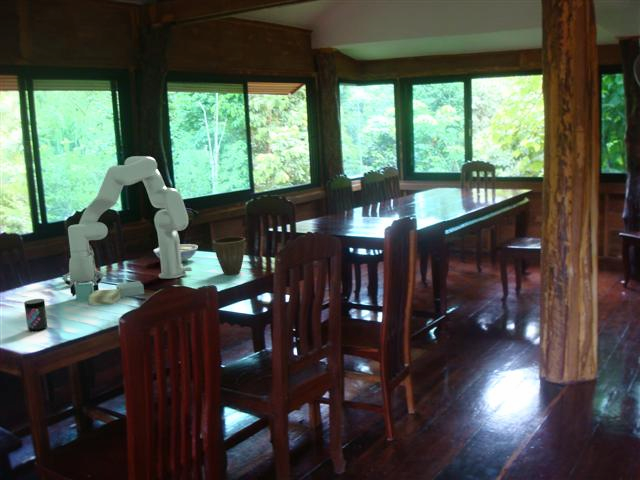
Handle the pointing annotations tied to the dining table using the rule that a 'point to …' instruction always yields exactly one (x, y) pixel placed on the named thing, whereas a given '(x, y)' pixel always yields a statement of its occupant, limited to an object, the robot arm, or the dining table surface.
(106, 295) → the tan flat lump
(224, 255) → the plant pot
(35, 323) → the supplement container
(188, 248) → the ramen bowl
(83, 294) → the teal cube
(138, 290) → the slate block
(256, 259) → the dining table surface
